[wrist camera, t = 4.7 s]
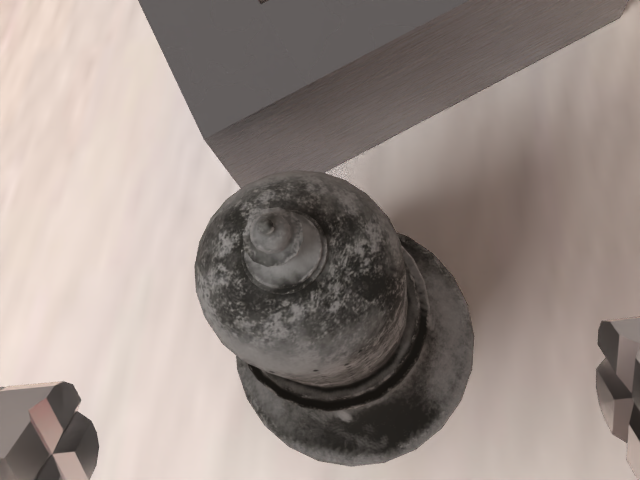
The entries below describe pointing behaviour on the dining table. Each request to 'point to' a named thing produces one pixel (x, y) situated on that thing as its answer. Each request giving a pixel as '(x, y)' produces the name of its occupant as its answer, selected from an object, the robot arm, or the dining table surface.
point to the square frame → (346, 67)
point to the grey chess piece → (333, 318)
